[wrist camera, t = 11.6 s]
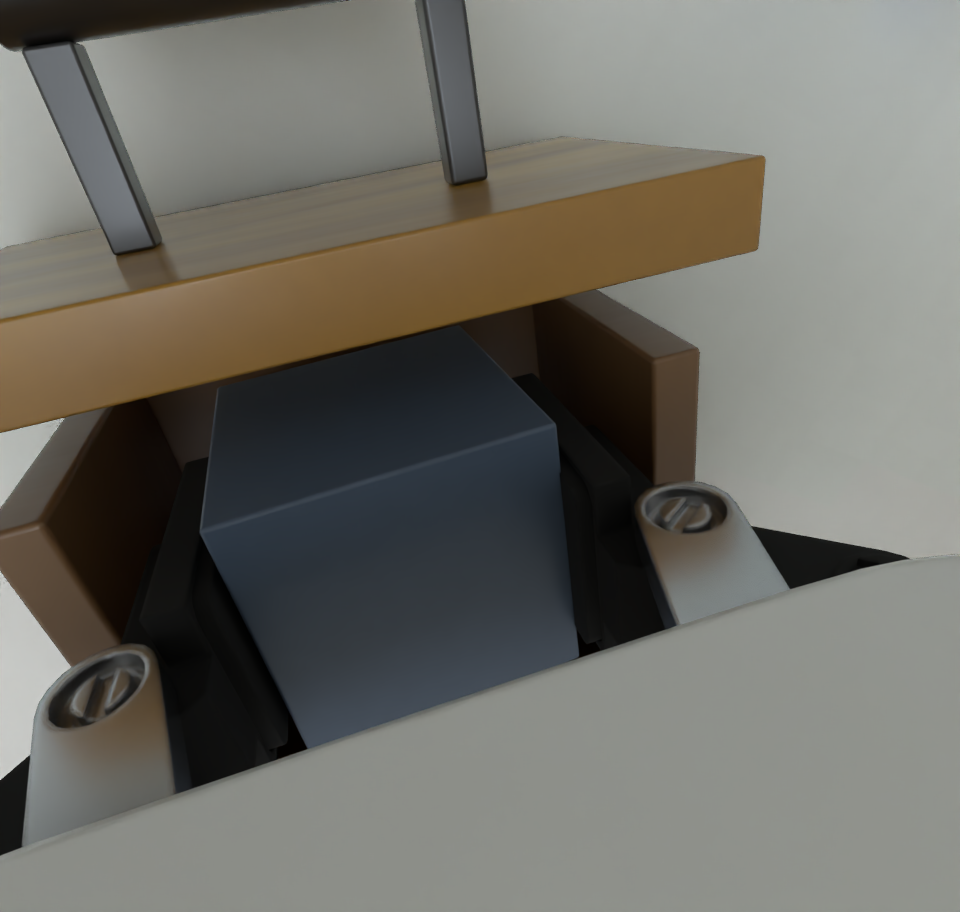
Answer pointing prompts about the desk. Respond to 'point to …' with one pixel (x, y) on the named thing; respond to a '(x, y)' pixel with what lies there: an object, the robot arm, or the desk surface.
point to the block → (390, 530)
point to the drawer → (320, 297)
